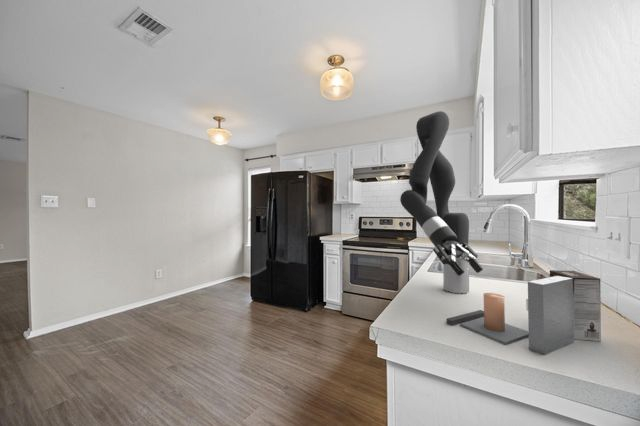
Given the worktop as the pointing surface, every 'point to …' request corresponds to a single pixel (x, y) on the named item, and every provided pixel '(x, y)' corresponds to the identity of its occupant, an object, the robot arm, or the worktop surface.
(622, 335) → the worktop surface
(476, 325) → the charcoal mat
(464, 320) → the dark grey slender bar
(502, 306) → the peach domed cylinder
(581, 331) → the coffee box
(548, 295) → the breaker panel
